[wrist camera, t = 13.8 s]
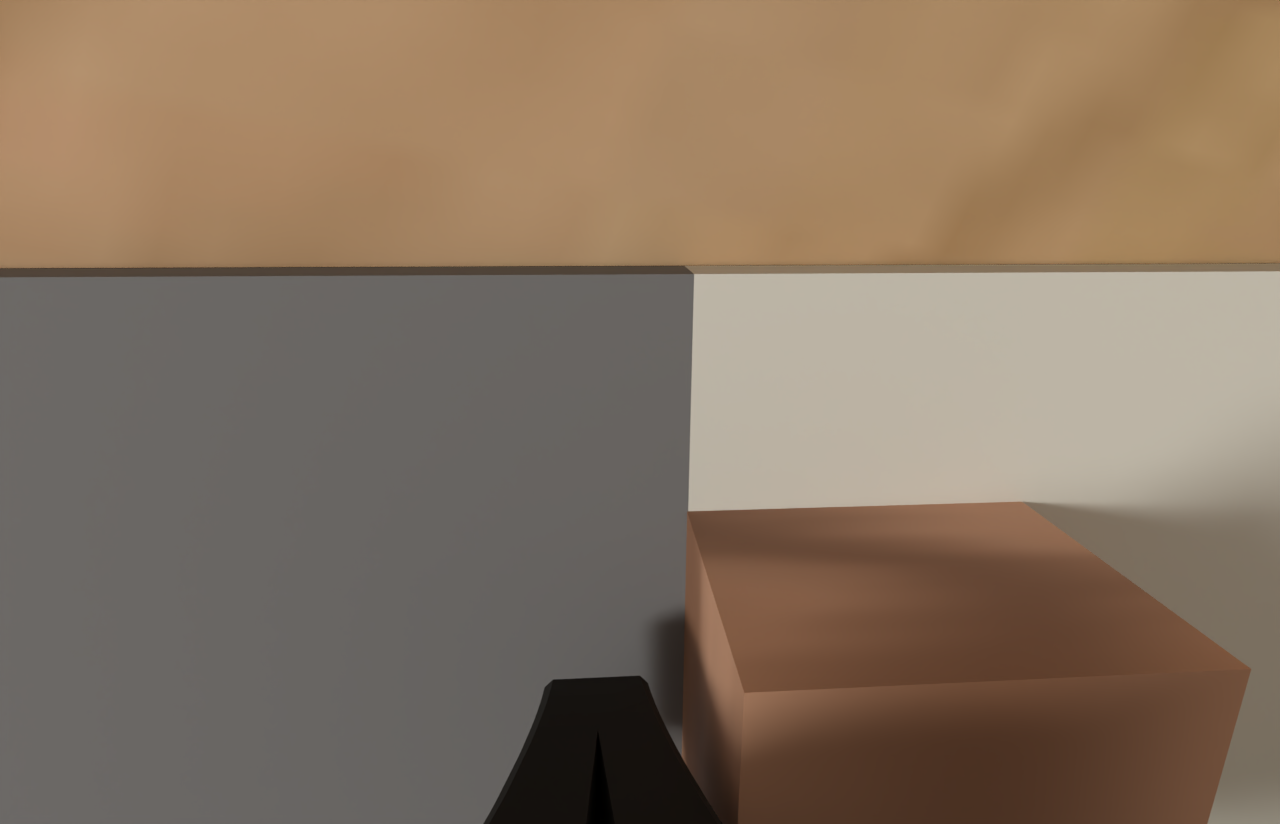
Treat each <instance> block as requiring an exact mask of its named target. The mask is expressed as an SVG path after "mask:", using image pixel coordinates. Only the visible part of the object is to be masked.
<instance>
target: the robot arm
mask: <svg viewBox="0 0 1280 824" xmlns="http://www.w3.org/2000/svg"><path fill="white" fill-rule="evenodd" d="M483 824H722V822H721V821H720V819H719V817H718V816H717V814H716V813H715V811H714V810H713V808H712V807H711V805H710V804H709V802H708V800H707V799H706V797H705V795H704V794H703V792H702V790H701V789H700V787H699V785H698V784H697V782H696V780H695V779H694V777H693V775H692V774H691V772H690V770H689V769H688V767H687V765H686V764H685V762H684V760H683V758H682V756H681V755H680V753H679V751H678V749H677V747H676V746H675V744H674V742H673V740H672V738H671V736H670V734H669V732H668V730H667V728H666V726H665V724H664V722H663V720H662V718H661V715H660V713H659V711H658V709H657V706H656V704H655V702H654V699H653V696H652V694H651V691H650V688H649V685H648V683H647V682H646V681H645V680H644V679H643V678H642V677H641V676H619V677H597V678H575V679H553V680H552V681H551V682H550V683H549V684H548V685H547V686H545V688H544V691H543V695H542V699H541V702H540V705H539V708H538V711H537V714H536V716H535V719H534V722H533V724H532V727H531V729H530V732H529V734H528V736H527V738H526V741H525V743H524V745H523V747H522V750H521V752H520V754H519V756H518V758H517V760H516V762H515V764H514V766H513V768H512V770H511V772H510V774H509V776H508V778H507V780H506V782H505V784H504V786H503V788H502V790H501V792H500V794H499V796H498V798H497V800H496V802H495V804H494V806H493V808H492V809H491V811H490V813H489V815H488V817H487V818H486V820H485V822H484V823H483Z"/></svg>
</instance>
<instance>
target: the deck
mask: <svg viewBox="0 0 1280 824" xmlns="http://www.w3.org/2000/svg"><path fill="white" fill-rule="evenodd" d="M990 502H1023V503H1025V504H1026V505H1027V506H1029V507H1030V508H1031V509H1033V510H1034V511H1036V512H1037V513H1038V514H1040V515H1041V516H1042V517H1044V518H1045V519H1046V520H1048V521H1049V522H1051V523H1052V524H1053V525H1055V526H1056V527H1057V528H1059V529H1060V530H1062V531H1063V532H1064V533H1066V534H1067V535H1068V536H1070V537H1071V538H1073V539H1074V540H1075V541H1077V542H1078V543H1079V544H1081V545H1082V546H1083V547H1085V548H1086V549H1088V550H1089V551H1090V552H1092V553H1093V554H1094V555H1096V556H1097V557H1099V558H1100V559H1101V560H1103V561H1104V562H1105V563H1107V564H1108V565H1110V566H1111V567H1112V568H1114V569H1115V570H1116V571H1118V572H1119V573H1120V574H1122V575H1123V576H1125V577H1126V578H1127V579H1129V580H1130V581H1131V582H1133V583H1134V584H1136V585H1137V586H1138V587H1140V588H1141V589H1142V590H1144V591H1145V592H1147V593H1148V594H1149V595H1151V596H1152V597H1153V598H1155V599H1156V600H1157V601H1159V602H1160V603H1162V604H1163V605H1164V606H1166V607H1167V608H1168V609H1170V610H1171V611H1173V612H1174V613H1175V614H1177V615H1178V616H1179V617H1181V618H1182V619H1184V620H1185V621H1186V622H1188V623H1189V624H1190V625H1192V626H1193V627H1194V628H1196V629H1197V630H1199V631H1200V632H1201V633H1203V634H1204V635H1205V636H1207V637H1208V638H1210V639H1211V640H1212V641H1214V642H1215V643H1216V644H1218V645H1219V646H1220V647H1222V648H1223V649H1225V650H1226V651H1227V652H1229V653H1230V654H1231V655H1233V656H1234V657H1236V658H1237V659H1238V660H1240V661H1241V662H1242V663H1244V664H1245V665H1247V666H1248V667H1249V668H1251V672H1250V676H1249V679H1248V683H1247V686H1246V690H1245V693H1244V697H1243V700H1242V704H1241V707H1240V711H1239V714H1238V718H1237V721H1236V725H1235V728H1234V732H1233V735H1232V739H1231V742H1230V746H1229V750H1228V753H1227V757H1226V760H1225V764H1224V767H1223V771H1222V774H1221V778H1220V781H1219V785H1218V788H1217V792H1216V795H1215V799H1214V802H1213V806H1212V809H1211V813H1210V816H1209V820H1208V823H1207V824H1280V263H1277V264H1025V265H773V266H521V267H269V268H17V269H0V824H483V823H484V822H485V820H486V818H487V817H488V815H489V813H490V811H491V809H492V808H493V806H494V804H495V802H496V800H497V798H498V796H499V794H500V792H501V790H502V788H503V786H504V784H505V782H506V780H507V778H508V776H509V774H510V772H511V770H512V768H513V766H514V764H515V762H516V760H517V758H518V756H519V754H520V752H521V750H522V747H523V745H524V743H525V741H526V738H527V736H528V734H529V732H530V729H531V727H532V724H533V722H534V719H535V716H536V714H537V711H538V708H539V705H540V702H541V699H542V695H543V691H544V688H545V686H547V685H548V684H549V683H550V682H551V681H552V680H553V679H575V678H597V677H619V676H641V677H642V678H643V679H644V680H645V681H646V682H647V683H648V685H649V688H650V691H651V694H652V696H653V699H654V702H655V704H656V706H657V709H658V711H659V713H660V715H661V718H662V720H663V722H664V724H665V726H666V728H667V730H668V732H669V734H670V736H671V738H672V740H673V742H674V744H675V746H676V747H677V749H678V751H679V753H680V755H681V756H682V723H683V677H684V631H685V585H686V539H687V511H718V510H752V509H786V508H820V507H854V506H888V505H922V504H956V503H990Z"/></svg>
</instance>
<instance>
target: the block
mask: <svg viewBox="0 0 1280 824" xmlns="http://www.w3.org/2000/svg"><path fill="white" fill-rule="evenodd" d="M1250 672H1251V668H1249V667H1248V666H1247V665H1245V664H1244V663H1242V662H1241V661H1240V660H1238V659H1237V658H1236V657H1234V656H1233V655H1231V654H1230V653H1229V652H1227V651H1226V650H1225V649H1223V648H1222V647H1220V646H1219V645H1218V644H1216V643H1215V642H1214V641H1212V640H1211V639H1210V638H1208V637H1207V636H1205V635H1204V634H1203V633H1201V632H1200V631H1199V630H1197V629H1196V628H1194V627H1193V626H1192V625H1190V624H1189V623H1188V622H1186V621H1185V620H1184V619H1182V618H1181V617H1179V616H1178V615H1177V614H1175V613H1174V612H1173V611H1171V610H1170V609H1168V608H1167V607H1166V606H1164V605H1163V604H1162V603H1160V602H1159V601H1157V600H1156V599H1155V598H1153V597H1152V596H1151V595H1149V594H1148V593H1147V592H1145V591H1144V590H1142V589H1141V588H1140V587H1138V586H1137V585H1136V584H1134V583H1133V582H1131V581H1130V580H1129V579H1127V578H1126V577H1125V576H1123V575H1122V574H1120V573H1119V572H1118V571H1116V570H1115V569H1114V568H1112V567H1111V566H1110V565H1108V564H1107V563H1105V562H1104V561H1103V560H1101V559H1100V558H1099V557H1097V556H1096V555H1094V554H1093V553H1092V552H1090V551H1089V550H1088V549H1086V548H1085V547H1083V546H1082V545H1081V544H1079V543H1078V542H1077V541H1075V540H1074V539H1073V538H1071V537H1070V536H1068V535H1067V534H1066V533H1064V532H1063V531H1062V530H1060V529H1059V528H1057V527H1056V526H1055V525H1053V524H1052V523H1051V522H1049V521H1048V520H1046V519H1045V518H1044V517H1042V516H1041V515H1040V514H1038V513H1037V512H1036V511H1034V510H1033V509H1031V508H1030V507H1029V506H1027V505H1026V504H1025V503H1023V502H990V503H956V504H922V505H888V506H854V507H820V508H786V509H752V510H718V511H687V539H686V585H685V631H684V677H683V723H682V758H683V760H684V762H685V764H686V765H687V767H688V769H689V770H690V772H691V774H692V775H693V777H694V779H695V780H696V782H697V784H698V785H699V787H700V789H701V790H702V792H703V794H704V795H705V797H706V799H707V800H708V802H709V804H710V805H711V807H712V808H713V810H714V811H715V813H716V814H717V816H718V817H719V819H720V821H721V822H722V824H1207V823H1208V820H1209V816H1210V813H1211V809H1212V806H1213V802H1214V799H1215V795H1216V792H1217V788H1218V785H1219V781H1220V778H1221V774H1222V771H1223V767H1224V764H1225V760H1226V757H1227V753H1228V750H1229V746H1230V742H1231V739H1232V735H1233V732H1234V728H1235V725H1236V721H1237V718H1238V714H1239V711H1240V707H1241V704H1242V700H1243V697H1244V693H1245V690H1246V686H1247V683H1248V679H1249V676H1250Z"/></svg>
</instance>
